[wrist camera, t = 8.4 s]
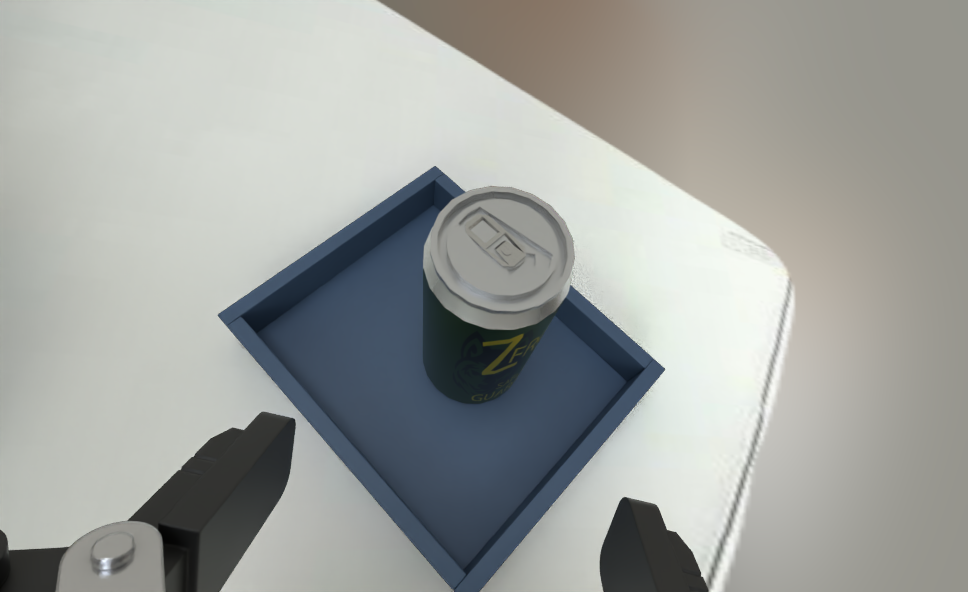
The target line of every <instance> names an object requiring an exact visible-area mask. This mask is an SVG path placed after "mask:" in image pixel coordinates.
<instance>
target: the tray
mask: <svg viewBox="0 0 968 592" xmlns="http://www.w3.org/2000/svg"><path fill="white" fill-rule="evenodd" d="M464 193H466V192H465V191H463V190H462V189H461V188H460V187H459V186H458V185H457V184H456V183H454V182H453V181H452V180H451V179H450V178H449V177H448V176H446V175H445V174H444V173H443V172H442V171H441V170H439V169H438V168H437V167H436V166H434V167H433V168H431V169H430V170H428V171H427V172H425V173H424V174H422V175H421V176H419V177H418V178H417V179H415V180H414V181H412V182H411V183H409V184H408V185H406V186H405V187H403V188H402V189H400V190H399V191H398V192H396V193H395V194H393V195H392V196H390V197H389V198H387V199H386V200H384V201H383V202H382V203H380V204H379V205H377V206H376V207H374V208H373V209H371V210H370V211H368V212H367V213H365V214H364V215H363V216H361V217H360V218H358V219H357V220H355V221H354V222H352V223H351V224H349V225H348V226H346V227H345V228H344V229H342V230H341V231H339V232H338V233H336V234H335V235H333V236H332V237H330V238H329V239H327V240H326V241H325V242H323V243H322V244H320V245H319V246H317V247H316V248H314V249H313V250H311V251H310V252H308V253H307V254H306V255H304V256H303V257H301V258H300V259H298V260H297V261H295V262H294V263H292V264H291V265H289V266H288V267H287V268H285V269H284V270H282V271H281V272H279V273H278V274H276V275H275V276H273V277H272V278H270V279H269V280H268V281H266V282H265V283H263V284H262V285H260V286H259V287H257V288H256V289H254V290H253V291H252V292H250V293H249V294H247V295H246V296H244V297H243V298H241V299H240V300H238V301H237V302H235V303H234V304H233V305H231V306H230V307H228V308H227V309H225V310H224V311H222V312H221V313H219V314H218V317H219V318H220V319H221V320H222V321H223V322H224V324H225V325H226V326H227V327H228V328H229V329H230V331H231V332H232V333H233V334H234V335H235V336H236V338H237V339H238V340H239V341H240V342H241V343H242V345H243V346H244V347H245V348H246V349H247V350H248V352H249V353H250V354H251V355H252V356H253V357H254V359H255V360H256V361H257V362H258V363H259V364H260V366H261V367H262V368H263V369H264V370H265V371H266V373H267V374H268V375H269V376H270V377H271V378H272V380H273V381H274V382H275V383H276V384H277V385H278V387H279V388H280V389H281V390H282V391H283V392H284V394H285V395H286V396H287V397H288V398H289V399H290V401H291V402H292V403H293V404H294V405H295V406H296V408H297V409H298V410H299V411H300V412H301V413H302V415H303V416H304V417H305V418H306V419H307V420H308V422H309V423H310V424H311V425H312V426H313V427H314V429H315V430H316V431H317V432H318V433H319V434H320V436H321V437H322V438H323V439H324V440H325V441H326V443H327V444H328V445H329V446H330V447H331V448H332V450H333V451H334V452H335V453H336V454H337V455H338V457H339V458H340V459H341V460H342V461H343V462H344V464H345V465H346V466H347V467H348V468H349V469H350V471H351V472H352V473H353V474H354V475H355V476H356V478H357V479H358V480H359V481H360V482H361V483H362V485H363V486H364V487H365V488H366V489H367V490H368V492H369V493H370V494H371V495H372V496H373V497H374V499H375V500H376V501H377V502H378V503H379V504H380V506H381V507H382V508H383V509H384V510H385V511H386V513H387V514H388V515H389V516H390V517H391V518H392V520H393V521H394V522H395V523H396V524H397V525H398V527H399V528H400V529H401V530H402V531H403V532H404V534H405V535H406V536H407V537H408V538H409V539H410V541H411V542H412V543H413V544H414V545H415V547H416V548H417V549H418V550H419V551H420V552H421V554H422V555H423V556H424V557H425V558H426V559H427V561H428V562H429V563H430V564H431V565H432V566H433V568H434V569H435V570H436V571H437V572H438V573H439V575H440V576H441V577H442V578H443V579H444V580H445V582H446V583H447V584H448V585H449V586H450V587H451V589H453V590H454V592H479V591H480V590H481V589H482V588H483V587H484V585H485V584H486V583H487V582H488V581H489V579H490V578H491V577H492V576H493V575H494V573H495V572H496V571H497V570H498V569H499V567H500V566H501V565H502V564H503V563H504V561H505V560H506V559H507V558H508V557H509V556H510V554H511V553H512V552H513V551H514V550H515V548H516V547H517V546H518V545H519V544H520V542H521V541H522V540H523V539H524V538H525V536H526V535H527V534H528V533H529V532H530V530H531V529H532V528H533V527H534V526H535V525H536V523H537V522H538V521H539V520H540V519H541V517H542V516H543V515H544V514H545V513H546V511H547V510H548V509H549V508H550V507H551V505H552V504H553V503H554V502H555V501H556V499H557V498H558V497H559V496H560V495H561V493H562V492H563V491H564V490H565V489H566V488H567V486H568V485H569V484H570V483H571V482H572V480H573V479H574V478H575V477H576V476H577V474H578V473H579V472H580V471H581V470H582V468H583V467H584V466H585V465H586V464H587V462H588V461H589V460H590V459H591V458H592V457H593V455H594V454H595V453H596V452H597V451H598V449H599V448H600V447H601V446H602V445H603V443H604V442H605V441H606V440H607V439H608V437H609V436H610V435H611V434H612V433H613V431H614V430H615V429H616V428H617V427H618V426H619V424H620V423H621V422H622V421H623V420H624V418H625V417H626V416H627V415H628V414H629V412H630V411H631V410H632V409H633V408H634V406H635V405H636V404H637V403H638V402H639V400H640V399H641V398H642V397H643V396H644V394H645V393H646V392H647V391H648V390H649V389H650V387H651V386H652V385H653V384H654V383H655V381H656V380H657V379H658V378H659V377H660V375H661V374H662V373H663V372H664V371H665V368H664V367H662V366H661V365H660V364H659V363H658V362H657V361H656V360H654V359H653V358H652V357H651V356H650V355H649V354H648V353H647V352H646V351H644V350H643V349H642V348H641V347H640V346H639V345H638V344H637V343H635V342H634V341H633V340H632V339H631V338H630V337H629V336H627V335H626V334H625V333H624V332H623V331H622V330H621V329H620V328H618V327H617V326H616V325H615V324H614V323H613V322H612V321H610V320H609V319H608V318H607V317H606V316H605V315H604V314H603V313H601V312H600V311H599V310H598V309H597V308H596V307H595V306H594V305H592V304H591V303H590V302H589V301H588V300H587V299H586V298H584V297H583V296H582V295H581V294H580V293H579V292H578V291H577V290H575V289H574V288H573V287H572V286H571V285H570V288H569V292H568V294H567V296H566V298H565V299H564V301H563V303H562V304H561V306H560V308H559V309H558V311H557V313H556V314H555V316H554V318H553V319H552V321H551V323H550V324H549V326H548V327H547V329H546V331H545V332H544V334H543V336H542V337H541V339H540V341H539V342H538V344H537V346H536V347H535V349H534V351H533V352H532V354H531V356H530V357H529V359H528V361H527V362H526V364H525V365H524V367H523V369H522V370H521V372H520V374H519V375H518V377H517V379H516V380H515V381H514V383H513V384H512V386H511V387H510V388H509V390H508V391H506V392H505V393H503V394H502V395H501V396H499V397H498V398H497V399H494V400H491V401H488V402H484V403H481V404H472V403H462V402H459V401H456V400H453V399H450V398H448V397H447V396H446V395H444V394H443V393H442V392H440V391H439V390H438V389H436V387H435V386H434V385H433V383H432V382H431V380H430V379H429V377H428V376H427V373H426V370H425V366H424V363H423V258H424V245H425V243H426V240H427V238H428V236H429V234H430V231H431V229H432V227H433V226H434V223H435V221H436V219H437V216H438V214H439V213H440V212H441V211H442V210H443V209H444V208H445V207H446V206H447V205H448V204H449V202H450V201H451V200H452V199H454V198H456V197H458V196H460V195H462V194H464Z"/></svg>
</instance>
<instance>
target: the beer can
mask: <svg viewBox="0 0 968 592" xmlns="http://www.w3.org/2000/svg"><path fill="white" fill-rule="evenodd" d="M574 259H575V255H574V246H573V238H572V236H571V234H570V232H569V230H568V228H567V225H566V223H565V221H564V220H563V219H562V218H561V217H560V215H559V214H558V213H557V212H556V211H555V210H554V209H553V208H552V207H551V206H550V205H549V204H547V203H546V202H544V201H543V200H541V199H539V198H538V197H536V196H535V195H533V194H531V193H528V192H525V191H522V190H518V189H515V188H512V187H497V186H489V187H484V188H479V189H474V190H470V191H468V192H466V193H464V194H462V195H460V196H458V197H456V198H454V199H452V200H451V201H450V202H449V204H448V205H447V206H446V207H445V208H444V209H443V210H442V211H441V212H440V213H439V214H438V216H437V219H436V221H435V223H434V226H433V227H432V229H431V231H430V234H429V236H428V238H427V240H426V243H425V245H424V258H423V363H424V366H425V370H426V373H427V376H428V377H429V379H430V380H431V382H432V383H433V385H434V386H435V387H436V389H438V390H439V391H440V392H442V393H443V394H444V395H446V396H447V397H448V398H450V399H453V400H456V401H459V402H462V403H472V404H481V403H484V402H488V401H491V400H494V399H497V398H498V397H499V396H501V395H502V394H503V393H505V392H506V391H508V390H509V388H510V387H511V386H512V384H513V383H514V381H515V380H516V379H517V377H518V375H519V374H520V372H521V370H522V369H523V367H524V365H525V364H526V362H527V361H528V359H529V357H530V356H531V354H532V352H533V351H534V349H535V347H536V346H537V344H538V342H539V341H540V339H541V337H542V336H543V334H544V332H545V331H546V329H547V327H548V326H549V324H550V323H551V321H552V319H553V318H554V316H555V314H556V313H557V311H558V309H559V308H560V306H561V304H562V303H563V301H564V299H565V298H566V296H567V294H568V292H569V288H570V284H571V280H572V277H573V263H574Z"/></svg>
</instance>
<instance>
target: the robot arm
mask: <svg viewBox="0 0 968 592" xmlns="http://www.w3.org/2000/svg"><path fill="white" fill-rule="evenodd" d="M295 426H296V423H295V419H293V418H289V417H284V416H280V415H276V414H272V413H267V412H261V413H260V414H259V415H258V416H257V417H256V418H255V419H254V420H253V421H252V422H251V423H250V424H249V426H248V427H247V428H246V429H245V430H241V429H236V428H231V429H229V430H227V431H225V432H223V433H221V434H219V435H217V436H215V437H213V438H211V439H210V440H209V441H208V442H207V443H206V444H205V445H204V446H203V447H202V448H201V449H200V450H199V451H198V452H197V453H196V454H195V456H194V457H191V458H190V459H189V460H188V461H187V462H186V463H185V464H184V465H183V466H182V469H181V470H178V471H177V472H176V473H175V474H174V475H173V476H172V477H171V478H170V479H169V480H168V481H167V482H166V483H165V484H164V485H163V486H162V487H161V488H160V489H159V490H158V491H157V492H156V493H155V494H154V495H153V496H152V497H151V498H150V499H149V500H148V501H147V502H146V503H145V504H144V505H143V506H142V507H141V508H140V509H139V510H138V511H137V512H136V513H135V514H134V515H133V516H132V517H131V518H130V519H129V520H128V521H122V522H116V523H112V524H108V525H105V526H102V527H100V528H97V529H95V530H93V531H91V532H89V533H87V534H85V535H84V536H82V537H81V538H79V539H78V540H77V541H75V542H74V543H73V544H72V545H71V546H70V547H63V548H47V549H27V550H8V541H7V537H6V535H5V533H3V532H2V531H1V530H0V592H219V591H220V590H221V588H222V587H223V585H224V584H225V582H226V581H227V579H228V578H229V576H230V575H231V573H232V571H233V570H234V568H235V567H236V565H237V564H238V562H239V561H240V559H241V558H242V556H243V555H244V553H245V552H246V550H247V548H248V547H249V545H250V544H251V542H252V541H253V539H254V538H255V536H256V535H257V533H258V532H259V530H260V529H261V527H262V526H263V524H264V522H265V521H266V519H267V518H268V516H269V515H270V513H271V512H272V510H273V509H274V507H275V506H276V504H277V503H278V501H279V499H280V498H281V496H282V494H283V492H284V490H285V487H286V485H287V482H288V478H289V474H290V468H291V460H292V452H293V444H294V435H295ZM600 576H601V581H602V586H603V591H604V592H708V591H709V590H708V588H707V586H706V583H705V581H704V579H703V577H701V572H700V569H699V567H698V564H697V562H696V560H695V557H694V555H693V553H692V551H691V550H690V549H689V547H688V546H687V545H686V544H685V543H684V541H683V540H682V539H681V538H680V536H679V535H678V534H677V533H676V532H673V531H669V530H667V529H666V526H665V524H664V521H663V518H662V516H661V513H660V511H659V508H658V507H657V505H655V504H652V503H648V502H644V501H639V500H635V499H631V498H626V497H624V498H622V499H621V501H620V503H619V505H618V507H617V510H616V512H615V515H614V517H613V520H612V523H611V525H610V528H609V530H608V533H607V535H606V538H605V540H604V543H603V546H602V549H601V555H600Z"/></svg>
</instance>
